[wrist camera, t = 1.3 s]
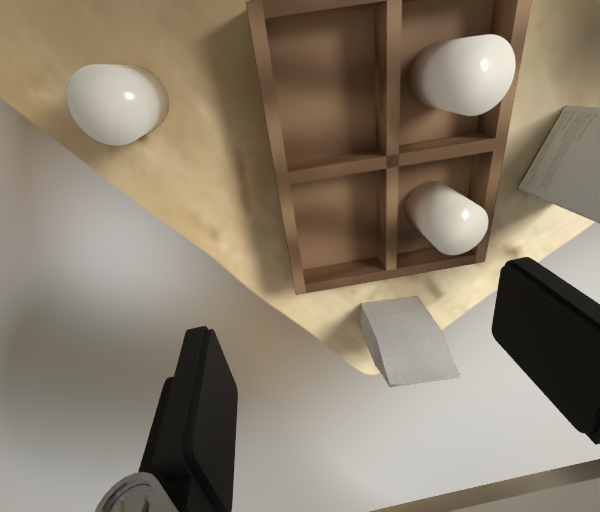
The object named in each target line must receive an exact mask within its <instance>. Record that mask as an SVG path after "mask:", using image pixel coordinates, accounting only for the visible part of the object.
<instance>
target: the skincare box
mask: <svg viewBox="0 0 600 512" xmlns="http://www.w3.org/2000/svg"><path fill="white" fill-rule="evenodd" d="M518 189H520V190H521V191H524V192H526V193H528V194H531V195H533V196H536V197H538V198H540V199H543V200H545V201H548V202H550V203H552V204H555V205H557V206H560V207H562V208H564V209H567V210H569V211H571V212H574V213H576V214H578V215H581V216H583V217H585V218H588V219H590V220H593V221H595V222H597V223H600V108H593V107H579V106H565V108H564V109H563V111H562V113H561V114H560V116H559V118H558V120H557V121H556V123H555V125H554V127H553V128H552V130H551V132H550V134H549V135H548V137H547V139H546V140H545V142H544V144H543V146H542V147H541V149H540V151H539V153H538V154H537V156H536V158H535V159H534V161H533V163H532V165H531V166H530V168H529V170H528V172H527V173H526V175H525V177H524V179H523V180H522V182H521V184H520V185H519V187H518Z"/></svg>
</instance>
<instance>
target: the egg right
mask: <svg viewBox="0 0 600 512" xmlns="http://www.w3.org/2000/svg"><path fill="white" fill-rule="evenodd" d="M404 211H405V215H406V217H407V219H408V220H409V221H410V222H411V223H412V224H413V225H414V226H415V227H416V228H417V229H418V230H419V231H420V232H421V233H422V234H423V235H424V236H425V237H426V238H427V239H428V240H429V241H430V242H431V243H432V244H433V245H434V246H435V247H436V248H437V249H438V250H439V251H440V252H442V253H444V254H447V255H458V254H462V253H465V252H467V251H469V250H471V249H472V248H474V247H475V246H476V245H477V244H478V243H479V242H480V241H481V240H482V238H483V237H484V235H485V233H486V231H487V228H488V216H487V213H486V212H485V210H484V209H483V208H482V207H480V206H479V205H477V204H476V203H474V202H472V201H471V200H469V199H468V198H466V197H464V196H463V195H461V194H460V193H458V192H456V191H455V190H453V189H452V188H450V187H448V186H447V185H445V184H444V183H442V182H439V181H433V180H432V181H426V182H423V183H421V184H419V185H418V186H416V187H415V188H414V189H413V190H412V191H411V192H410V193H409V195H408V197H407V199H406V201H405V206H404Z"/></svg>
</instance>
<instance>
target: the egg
mask: <svg viewBox="0 0 600 512" xmlns="http://www.w3.org/2000/svg"><path fill="white" fill-rule="evenodd" d="M66 100H67V105H68V108H69V111H70V114H71V115H72V117H73V119H74V121H75V122H76V124H77V125H78V126H79V127H80V128H81V129H82V130H83V131H84V132H85V133H86V134H87V135H88V136H90V137H91V138H93V139H95V140H97V141H99V142H101V143H104V144H107V145H113V146H121V145H126V144H129V143H132V142H133V141H135V140H137V139H138V138H140V137H142V136H143V135H145V134H147V133H148V132H150V131H151V130H153V129H155V128H156V127H158V126H159V125H161V124H162V123H163V122H164V120H165V119H166V117H167V114H168V110H169V99H168V95H167V92H166V89H165V87H164V86H163V84H162V82H161V81H160V80H159V79H158V78H157V77H156V76H155V75H154V74H153V73H152V72H150V71H149V70H147V69H145V68H143V67H140V66H137V65H115V64H93V65H87V66H84V67H82V68H80V69H79V70H77V71H76V72H75V73H74V74H73V75H72V77H71V78H70V80H69V82H68V85H67V90H66Z"/></svg>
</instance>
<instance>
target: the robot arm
mask: <svg viewBox="0 0 600 512" xmlns="http://www.w3.org/2000/svg"><path fill="white" fill-rule="evenodd" d="M492 334H493V336H494V338H495V340H496V341H497V342H498V343H499V344H500V345H501V346H502V348H503V349H504V350H505V351H506V352H507V353H508V354H509V355H510V356H511V357H512V359H513V360H514V361H515V362H516V363H517V364H518V365H519V366H520V368H521V369H522V370H523V371H524V372H525V373H526V374H527V375H528V376H529V377H530V379H531V380H532V381H533V382H534V383H535V384H536V385H537V386H538V387H539V389H541V391H542V392H543V393H544V394H545V395H546V396H547V397H548V398H549V400H550V401H551V402H552V403H553V404H554V405H555V406H556V407H557V408H558V410H559V411H560V412H561V413H562V414H563V415H564V416H565V417H566V418H567V420H568V421H569V422H570V423H571V424H572V425H573V426H574V427H575V428H576V429H577V430H578V431H579V432H581V433H585V434H586V435H587V436H588V437H589V438H590V439H591V440H592V441H593V442H594V443H595V444H600V304H598V303H597V302H595V301H594V300H592V299H591V298H589V297H588V296H586V295H585V294H583V293H582V292H580V291H579V290H578V289H576V288H575V287H573V286H571V285H570V284H569V283H567V282H566V281H564V280H563V279H561V278H559V277H558V276H557V275H555V274H554V273H552V272H551V271H549V270H548V269H546V268H545V267H543V266H541V265H540V264H539V263H537V262H536V261H534V260H533V259H531V258H529V257H524V258H519V259H514V260H510V261H507V262H506V264H505V266H504V267H502V268H501V272H500V278H499V285H498V291H497V298H496V304H495V310H494V317H493V323H492ZM237 401H238V392H237V386H236V383H235V381H234V379H233V376H232V374H231V371H230V369H229V366H228V364H227V361H226V359H225V356H224V354H223V351H222V349H221V346H220V344H219V341H218V339H217V336H216V334H215V332H214V330H213V329H210V330H208V328H207V327H206V326H202V327H197V328H193V329H188V330H187V331H186V333H185V337H184V341H183V345H182V348H181V352H180V356H179V360H178V364H177V367H176V371H175V375H174V377H169V378H167V380H166V381H165V383H164V386H163V389H162V392H161V396H160V399H159V403H158V406H157V410H156V413H155V417H154V420H153V424H152V427H151V430H150V434H149V437H148V441H147V445H146V448H145V451H144V454H143V458H142V461H141V465H140V468H139V472H138V473H134V474H131V475H129V476H127V477H124V478H123V479H122V480H120V481H119V482H117V483H116V484H115V485H114V486H113V487H112V488H111V489H110V490H109V491H108V492H107V493H106V494H105V495H104V497H103V498H102V500H101V501H100V503H99V504H98V506H97V508H96V511H95V512H231V510H232V499H233V479H234V478H233V477H234V460H235V459H234V458H235V440H236V420H237ZM370 512H600V459H598V460H593V461H589V462H585V463H580V464H576V465H571V466H567V467H562V468H558V469H553V470H549V471H544V472H540V473H535V474H531V475H526V476H522V477H517V478H513V479H509V480H504V481H500V482H495V483H491V484H487V485H482V486H478V487H474V488H469V489H465V490H460V491H456V492H452V493H447V494H443V495H439V496H434V497H430V498H426V499H421V500H417V501H412V502H408V503H404V504H400V505H395V506H391V507H387V508H383V509H378V510H374V511H370Z"/></svg>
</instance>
